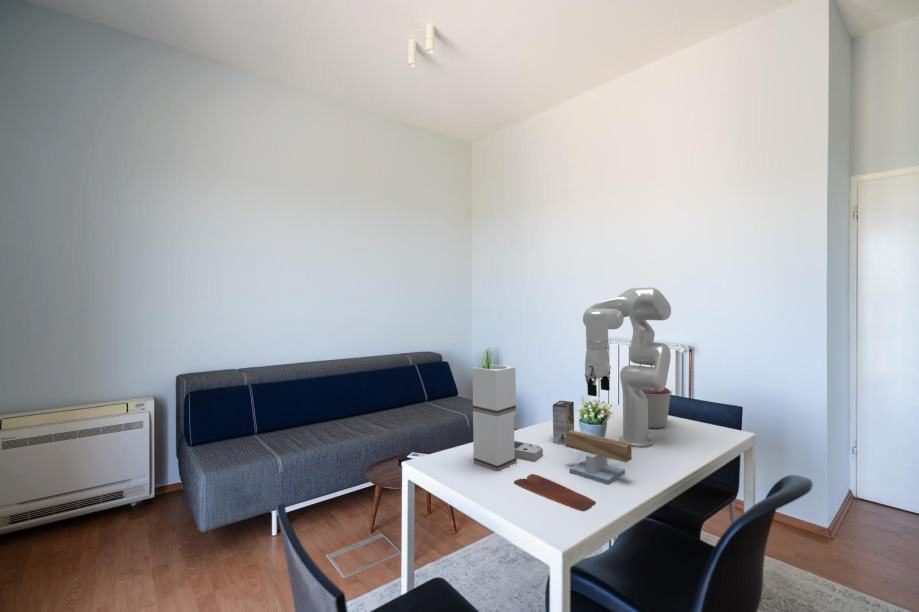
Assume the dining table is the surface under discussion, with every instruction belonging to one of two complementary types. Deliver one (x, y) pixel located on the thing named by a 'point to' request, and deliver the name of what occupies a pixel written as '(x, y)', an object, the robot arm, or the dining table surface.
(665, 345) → the robot arm
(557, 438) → the coffee box
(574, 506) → the wooden tablet
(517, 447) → the handheld gaming device
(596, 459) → the ridge stand
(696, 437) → the dining table surface
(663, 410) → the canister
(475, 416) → the tall square planter
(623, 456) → the walnut batten
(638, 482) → the dining table surface
